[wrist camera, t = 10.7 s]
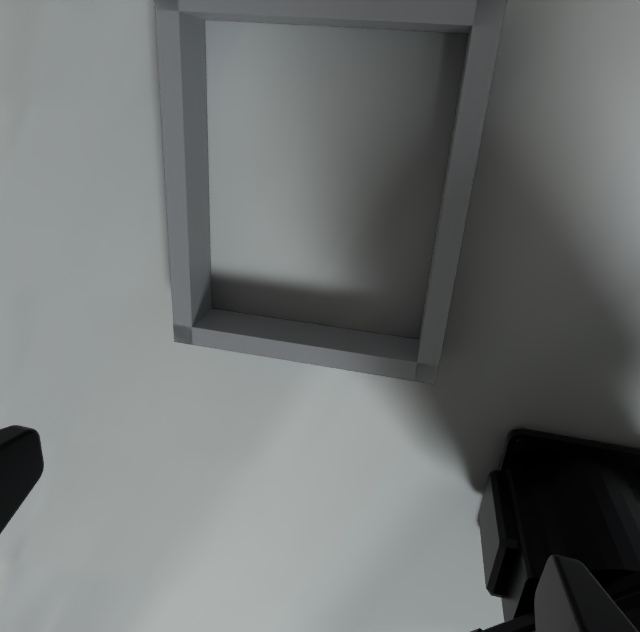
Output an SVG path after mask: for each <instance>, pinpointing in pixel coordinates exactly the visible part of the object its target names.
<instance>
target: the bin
mask: <svg viewBox="0 0 640 632" xmlns="http://www.w3.org/2000/svg"><path fill="white" fill-rule="evenodd" d="M506 2H507V0H155V16H156V33H157V50H158V68H159V85H160V102H161V119H162V137H163V154H164V171H165V189H166V206H167V223H168V241H169V258H170V275H171V292H172V310H173V327H174V342H179V343H185V344H191V345H197V346H203V347H209V348H215V349H221V350H228V351H234V352H240V353H246V354H252V355H258V356H264V357H270V358H276V359H282V360H289V361H295V362H301V363H307V364H313V365H319V366H325V367H331V368H337V369H343V370H350V371H356V372H362V373H368V374H374V375H380V376H386V377H392V378H398V379H404V380H411V381H417V382H423V383H429V384H436V379H437V373H438V368H439V362H440V357H441V352H442V346H443V341H444V335H445V330H446V325H447V319H448V314H449V309H450V303H451V298H452V292H453V287H454V282H455V276H456V271H457V266H458V260H459V255H460V249H461V244H462V239H463V233H464V228H465V222H466V217H467V212H468V206H469V201H470V196H471V190H472V185H473V179H474V174H475V169H476V163H477V158H478V153H479V147H480V142H481V136H482V131H483V126H484V120H485V115H486V109H487V104H488V99H489V93H490V88H491V83H492V77H493V72H494V66H495V61H496V56H497V50H498V45H499V40H500V34H501V29H502V23H503V18H504V13H505V7H506ZM205 20H218V21H237V22H256V23H276V24H295V25H315V26H334V27H353V28H373V29H392V30H412V31H431V32H450V33H469V35H468V42H467V48H466V54H465V60H464V66H463V72H462V78H461V84H460V91H459V97H458V103H457V109H456V115H455V121H454V127H453V133H452V140H451V146H450V152H449V158H448V164H447V170H446V176H445V182H444V188H443V195H442V201H441V207H440V213H439V219H438V225H437V231H436V237H435V244H434V250H433V256H432V262H431V268H430V274H429V280H428V286H427V293H426V299H425V305H424V311H423V317H422V323H421V329H420V335H419V340H418V339H411V338H404V337H398V336H391V335H384V334H378V333H371V332H364V331H358V330H351V329H344V328H338V327H331V326H325V325H318V324H311V323H305V322H298V321H291V320H285V319H278V318H271V317H265V316H258V315H251V314H245V313H238V312H231V311H225V310H218V309H212V302H211V259H210V216H209V173H208V130H207V87H206V44H205Z"/></svg>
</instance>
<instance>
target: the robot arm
mask: <svg viewBox="0 0 640 632" xmlns="http://www.w3.org/2000/svg"><path fill="white" fill-rule="evenodd" d="M519 439H523V440H525V442H523V443H516V440H519ZM43 468H44V461H43V455H42V449H41V442H40V436H39V434H38V432H37V431H36V430H34V429H32V428H28V427H23V426H19V425H13V426H9V427H6V428H3V429H0V534H1V532H2V531H3V529H4V528H5V527H6V525H7V524H8V522H9V521H10V520H11V518H12V517H13V515H14V514H15V512H16V511H17V510H18V508H19V507H20V505H21V504H22V503H23V501H24V500H25V498H26V497H27V496H28V494H29V493H30V491H31V490H32V489H33V487H34V486H35V484H36V483H37V481H38V480H39V478H40V477H41V475H42V472H43ZM479 523H480V533H481V543H482V553H483V563H484V573H485V583H486V589H487V590H488V592H489V593H490V594H491V595H492V596H496V597H501V598H502V606H503V614H504V621H505V622H504V623H501V624H498V625H496V626H493V627H490V628H488V629H485V630H482V629H480V628H479V629H476V630H473V631H471V632H640V449H637V448H631V447H625V446H620V445H614V444H608V443H602V442H596V441H591V440H585V439H579V438H573V437H568V436H562V435H556V434H550V433H544V432H539V431H533V430H527V429H514V430H512V431H511V432H509V434H508V436H507V439H506V443H505V447H504V450H503V454H502V458H501V462H500V465H499V469H498V470H493V471H492V472H491V473H489V477H488V481H487V484H486V488H485V492H484V496H483V500H482V504H481V508H480V511H479Z"/></svg>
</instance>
